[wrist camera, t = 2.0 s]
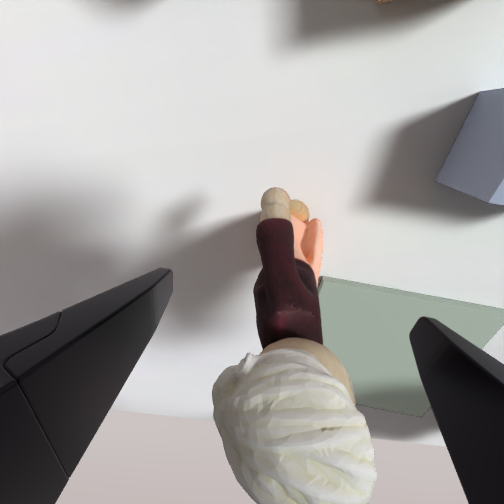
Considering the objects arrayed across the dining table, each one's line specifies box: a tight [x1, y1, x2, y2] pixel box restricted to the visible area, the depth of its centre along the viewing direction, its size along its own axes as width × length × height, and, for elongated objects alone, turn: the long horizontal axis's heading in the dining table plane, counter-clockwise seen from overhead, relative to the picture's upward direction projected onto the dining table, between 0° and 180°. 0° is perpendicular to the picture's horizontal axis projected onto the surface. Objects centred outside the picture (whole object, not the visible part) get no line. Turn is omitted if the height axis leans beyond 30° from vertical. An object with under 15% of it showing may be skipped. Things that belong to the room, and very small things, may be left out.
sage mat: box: [318, 276, 504, 417], centre depth 19 cm, size 12×12×1 cm
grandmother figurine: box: [212, 187, 377, 504], centre depth 9 cm, size 8×4×13 cm, turn 19°
